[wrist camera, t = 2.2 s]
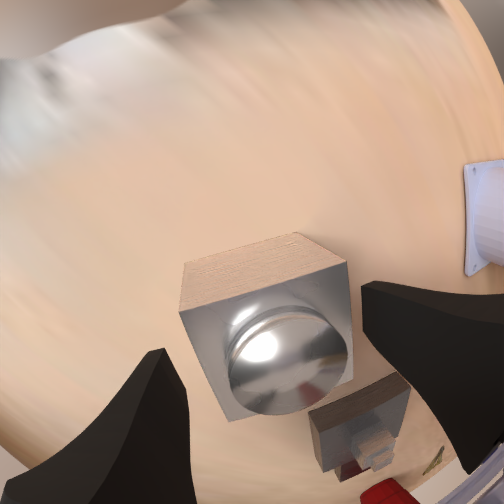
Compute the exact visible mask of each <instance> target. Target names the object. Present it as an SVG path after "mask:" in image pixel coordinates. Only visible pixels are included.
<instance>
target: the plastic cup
mask: <svg viewBox="0 0 504 504" xmlns="http://www.w3.org/2000/svg"><path fill="white" fill-rule="evenodd" d="M360 499H361V500H360V501H361V504H420V503H419V502H418V501H417V500H416V499H415V498H414V497H413V496H412V495H411V494H410V493H409V492H408V491H407V490H406V489H404V488H403V487H402V486H401V485H399V484H398V483H397V482H396V481H395V480H393V479H392V478H389V479H387V480H384V481H382V482H380V483H378V484H376V485H375V486H373V487H371V488H370V489H368V490H367V491H365V492H364V493H363V494H362V495H361V496H360Z"/></svg>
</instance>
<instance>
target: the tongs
mask: <svg viewBox="0 0 504 504" xmlns="http://www.w3.org/2000/svg"><path fill="white" fill-rule="evenodd" d="M443 450H444V446H442V447H441V449H440V451H439V453H438V454H437V456H436V457H435V459H434V460H433V462H432V463H431V464H430V465H429V467H428V468H427V470H426V471H425V472H424V474H423V476H424V475H425V474H426V473H428V472H429V471H430V470H431V469H432V468H434V467H435V466H436V465H438V464H440V462H441V461H442V452H443ZM438 457H439V458H438ZM437 458H438V461H437V464H436V465H435V466H434V463H435V462H436V460H437ZM433 466H434V467H433Z"/></svg>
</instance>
